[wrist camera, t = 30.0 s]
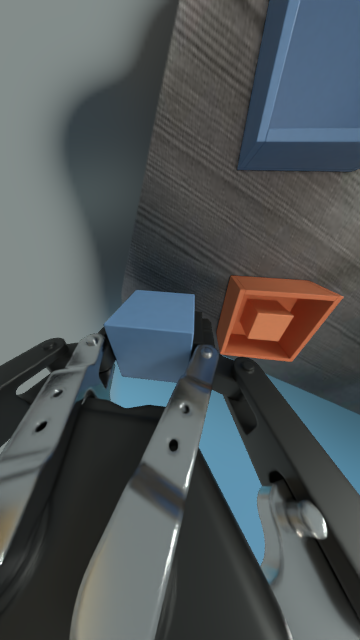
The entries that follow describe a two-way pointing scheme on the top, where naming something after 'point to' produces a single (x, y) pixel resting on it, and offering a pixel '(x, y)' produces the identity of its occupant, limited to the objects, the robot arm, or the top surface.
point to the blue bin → (306, 89)
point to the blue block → (153, 335)
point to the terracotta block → (264, 319)
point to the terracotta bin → (294, 295)
